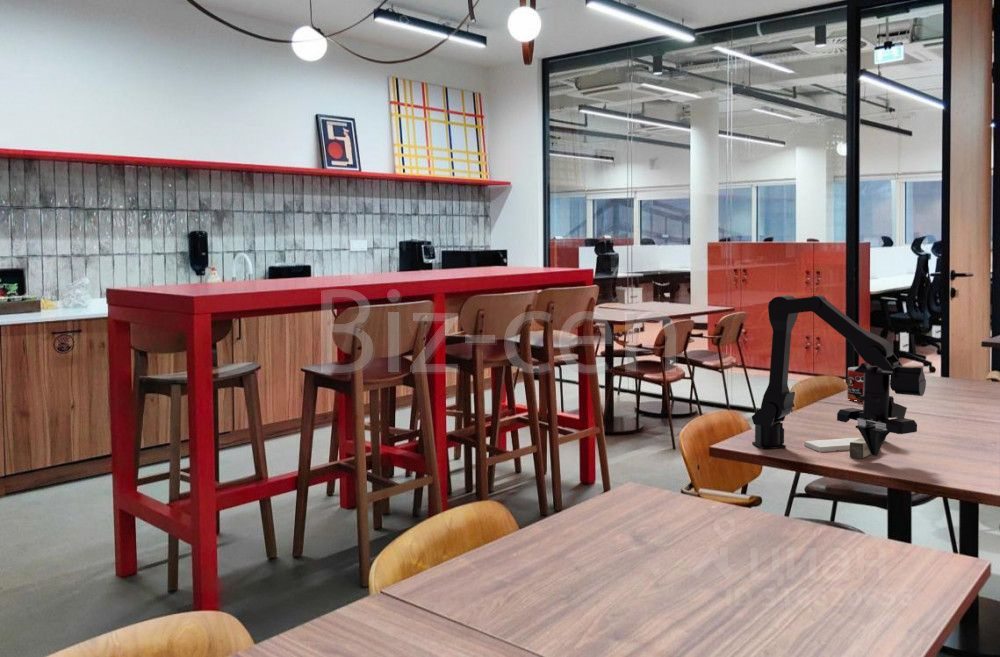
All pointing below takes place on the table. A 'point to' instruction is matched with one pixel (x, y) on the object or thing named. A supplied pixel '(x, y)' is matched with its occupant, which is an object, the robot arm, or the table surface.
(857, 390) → the canned food
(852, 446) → the leg
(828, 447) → the board
